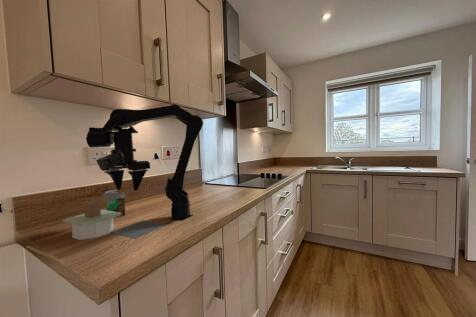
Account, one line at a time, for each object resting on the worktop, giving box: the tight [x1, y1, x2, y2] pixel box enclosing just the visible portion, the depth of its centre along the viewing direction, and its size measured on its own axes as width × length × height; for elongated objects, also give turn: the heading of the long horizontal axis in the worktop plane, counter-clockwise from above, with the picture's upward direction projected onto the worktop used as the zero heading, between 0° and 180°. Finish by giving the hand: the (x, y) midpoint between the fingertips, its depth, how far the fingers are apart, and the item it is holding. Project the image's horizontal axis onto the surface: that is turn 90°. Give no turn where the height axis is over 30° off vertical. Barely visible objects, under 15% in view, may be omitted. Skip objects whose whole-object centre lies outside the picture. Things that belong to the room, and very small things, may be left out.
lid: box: [62, 200, 121, 227], centre depth 63 cm, size 11×11×5 cm
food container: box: [103, 188, 126, 219], centre depth 81 cm, size 12×6×10 cm, turn 45°
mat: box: [110, 219, 168, 239], centre depth 65 cm, size 12×12×1 cm
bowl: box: [71, 218, 114, 241], centre depth 63 cm, size 10×10×5 cm
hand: (127, 190), depth 71 cm, fingers open, 9 cm apart
